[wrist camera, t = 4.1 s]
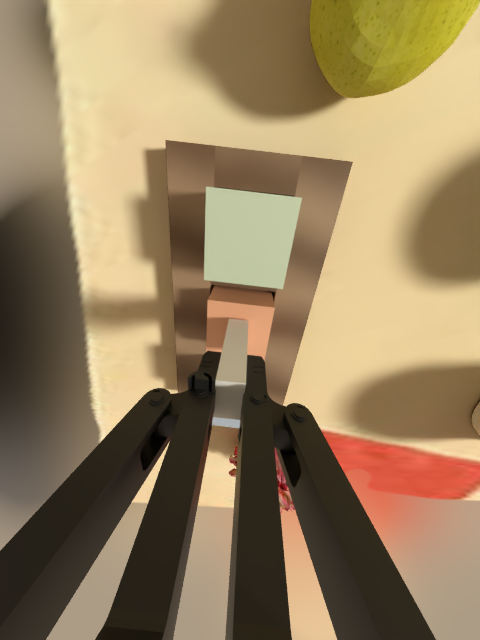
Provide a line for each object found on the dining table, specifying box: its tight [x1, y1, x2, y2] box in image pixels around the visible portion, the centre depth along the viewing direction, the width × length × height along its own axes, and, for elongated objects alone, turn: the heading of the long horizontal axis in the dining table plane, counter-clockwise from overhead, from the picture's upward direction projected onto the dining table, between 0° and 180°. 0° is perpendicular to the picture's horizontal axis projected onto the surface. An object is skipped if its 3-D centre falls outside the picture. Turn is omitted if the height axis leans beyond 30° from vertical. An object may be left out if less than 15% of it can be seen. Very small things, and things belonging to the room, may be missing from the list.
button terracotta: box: [206, 285, 275, 360], centre depth 19 cm, size 5×5×4 cm
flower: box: [229, 447, 295, 514], centre depth 28 cm, size 10×9×8 cm
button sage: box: [204, 187, 302, 289], centre depth 14 cm, size 5×5×4 cm
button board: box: [166, 140, 353, 405], centre depth 20 cm, size 24×12×2 cm, turn 174°
